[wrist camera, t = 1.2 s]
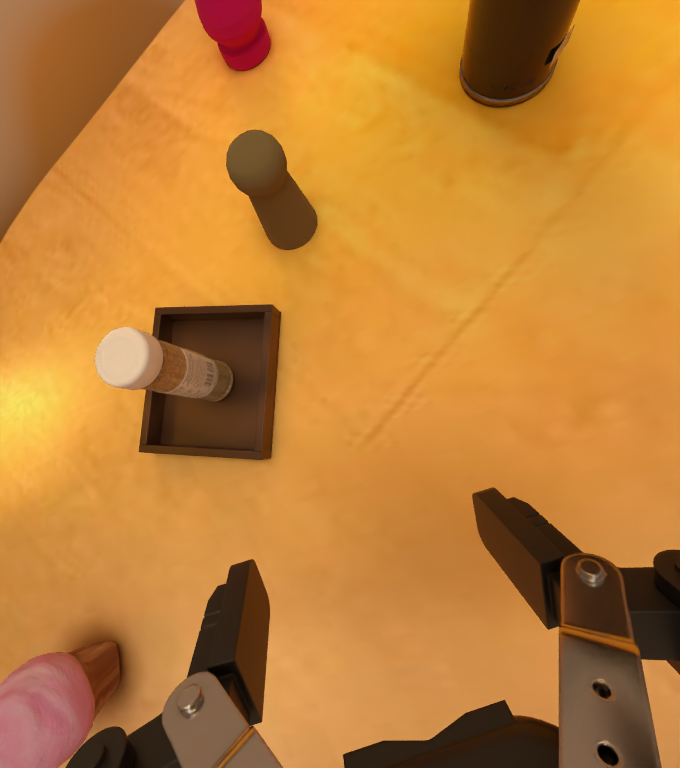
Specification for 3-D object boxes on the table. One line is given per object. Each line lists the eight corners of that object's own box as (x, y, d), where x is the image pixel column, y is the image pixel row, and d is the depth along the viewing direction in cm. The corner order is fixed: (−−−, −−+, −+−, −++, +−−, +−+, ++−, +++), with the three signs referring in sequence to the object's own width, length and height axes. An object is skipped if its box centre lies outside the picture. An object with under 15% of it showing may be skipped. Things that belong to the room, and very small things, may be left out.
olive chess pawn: (269, 255, 41) (218, 191, 30) (262, 207, 42) (210, 129, 31) (321, 241, 40) (287, 170, 29) (312, 193, 41) (277, 106, 30)
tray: (170, 314, 42) (155, 307, 40) (281, 312, 39) (272, 304, 37) (155, 451, 40) (138, 452, 38) (271, 458, 37) (261, 460, 35)
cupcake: (131, 610, 38) (34, 670, 28) (150, 701, 36) (54, 798, 27) (61, 632, 39) (-55, 698, 29) (76, 722, 37) (-41, 822, 28)
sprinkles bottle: (205, 356, 40) (105, 318, 27) (241, 368, 39) (155, 334, 26) (191, 395, 40) (82, 376, 27) (226, 408, 39) (132, 395, 26)
